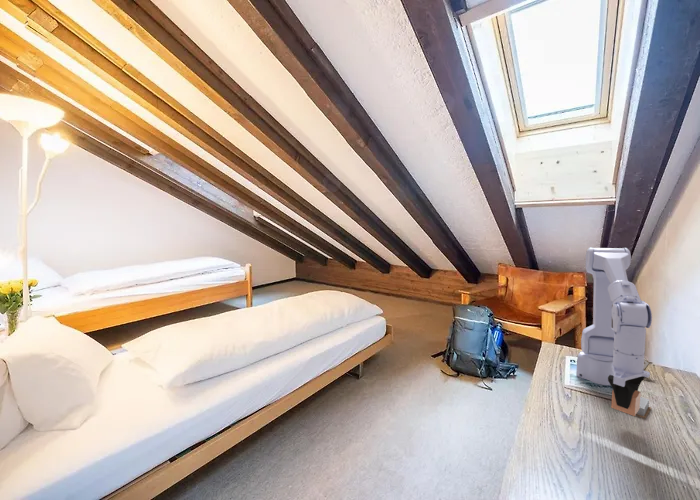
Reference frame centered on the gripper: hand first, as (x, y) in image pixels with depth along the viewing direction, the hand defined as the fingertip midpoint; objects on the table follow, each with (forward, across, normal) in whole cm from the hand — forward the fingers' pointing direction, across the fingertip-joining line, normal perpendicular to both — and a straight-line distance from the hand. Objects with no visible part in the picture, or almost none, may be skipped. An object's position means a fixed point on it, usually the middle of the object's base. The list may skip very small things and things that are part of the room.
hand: (625, 402), depth 79 cm
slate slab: (+6, +11, +1) cm, 13 cm away
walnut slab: (+8, +11, +1) cm, 14 cm away
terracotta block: (+2, 0, 0) cm, 2 cm away
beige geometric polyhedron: (+8, +37, +6) cm, 38 cm away
